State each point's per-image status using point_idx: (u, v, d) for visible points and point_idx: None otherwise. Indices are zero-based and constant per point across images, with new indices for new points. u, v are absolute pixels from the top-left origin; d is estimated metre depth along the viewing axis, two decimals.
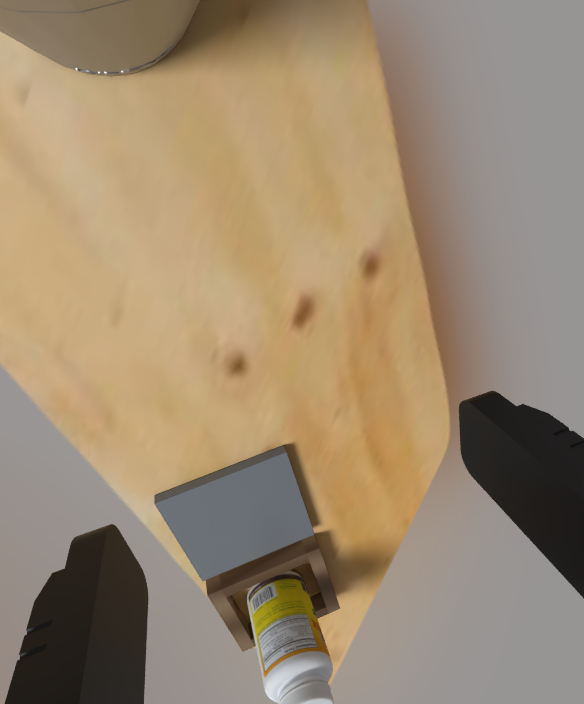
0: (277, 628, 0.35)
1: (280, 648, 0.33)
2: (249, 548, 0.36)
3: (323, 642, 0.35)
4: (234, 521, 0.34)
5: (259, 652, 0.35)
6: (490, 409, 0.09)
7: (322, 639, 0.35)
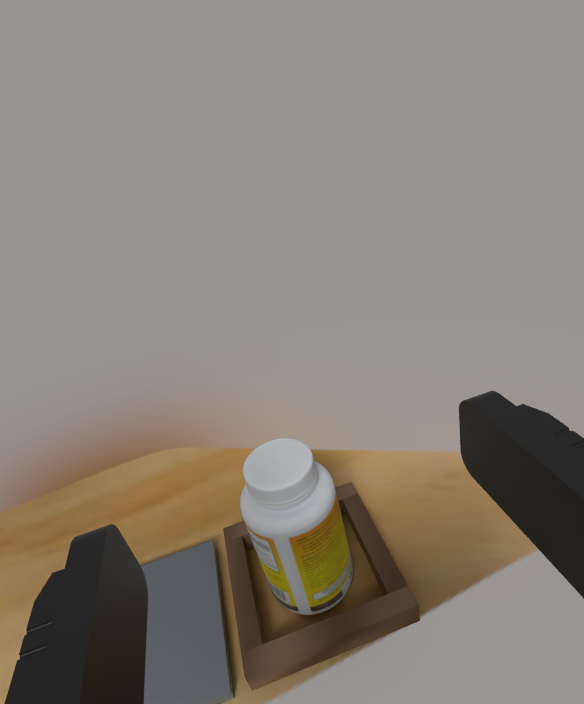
0: None
1: None
2: (196, 618, 0.27)
3: None
4: None
5: (280, 561, 0.24)
6: (490, 409, 0.09)
7: None
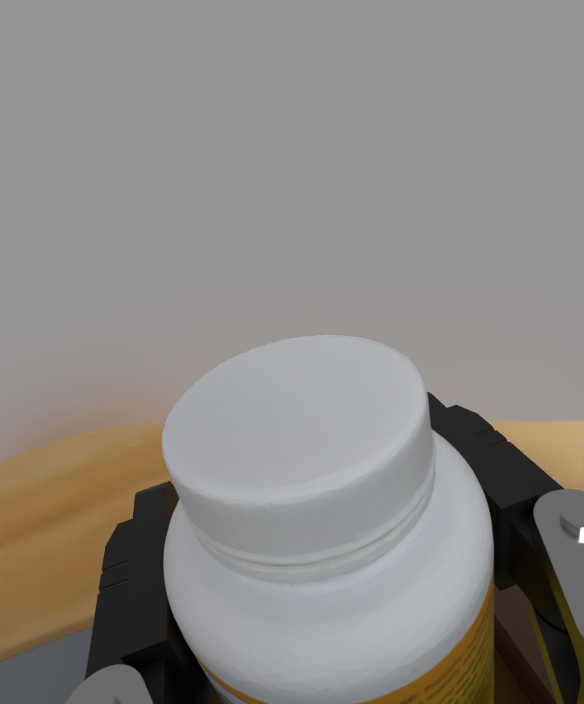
0: None
1: None
2: None
3: None
4: None
5: None
6: None
7: None
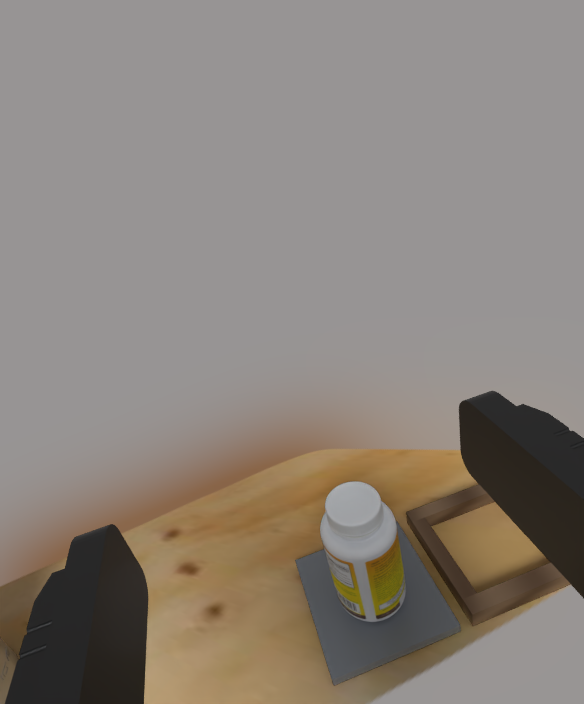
0: (330, 567, 0.32)
1: (327, 555, 0.31)
2: (410, 578, 0.35)
3: None
4: None
5: (356, 580, 0.30)
6: (490, 409, 0.09)
7: None
